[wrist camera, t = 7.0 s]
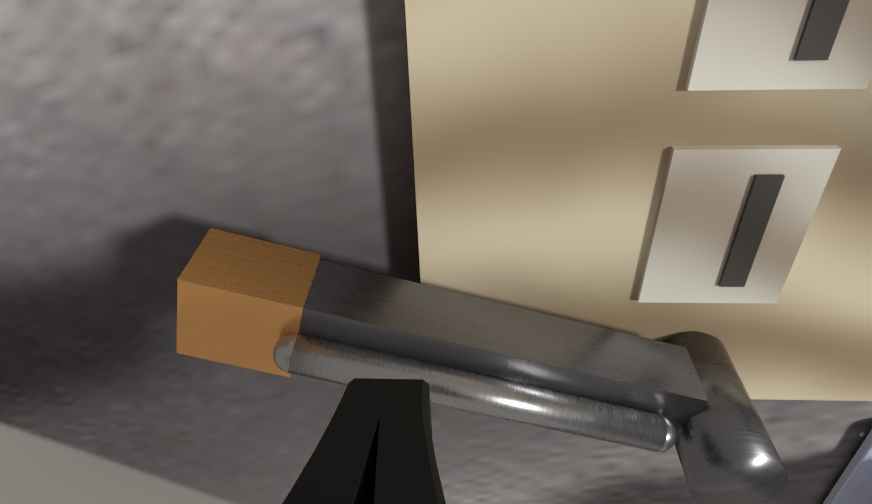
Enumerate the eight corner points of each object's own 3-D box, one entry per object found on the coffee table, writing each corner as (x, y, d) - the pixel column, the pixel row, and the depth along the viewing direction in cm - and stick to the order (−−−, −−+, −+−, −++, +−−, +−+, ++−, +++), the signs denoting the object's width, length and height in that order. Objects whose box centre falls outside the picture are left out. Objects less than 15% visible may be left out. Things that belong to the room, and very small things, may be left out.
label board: (882, 378, 20) (904, 408, 19) (428, 372, 21) (426, 400, 20) (1330, -342, 10) (1434, -363, 9) (393, -299, 11) (385, -312, 10)
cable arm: (743, 339, 18) (810, 464, 15) (699, 392, 20) (750, 517, 16) (220, 212, 16) (151, 320, 13) (216, 281, 18) (153, 394, 14)
